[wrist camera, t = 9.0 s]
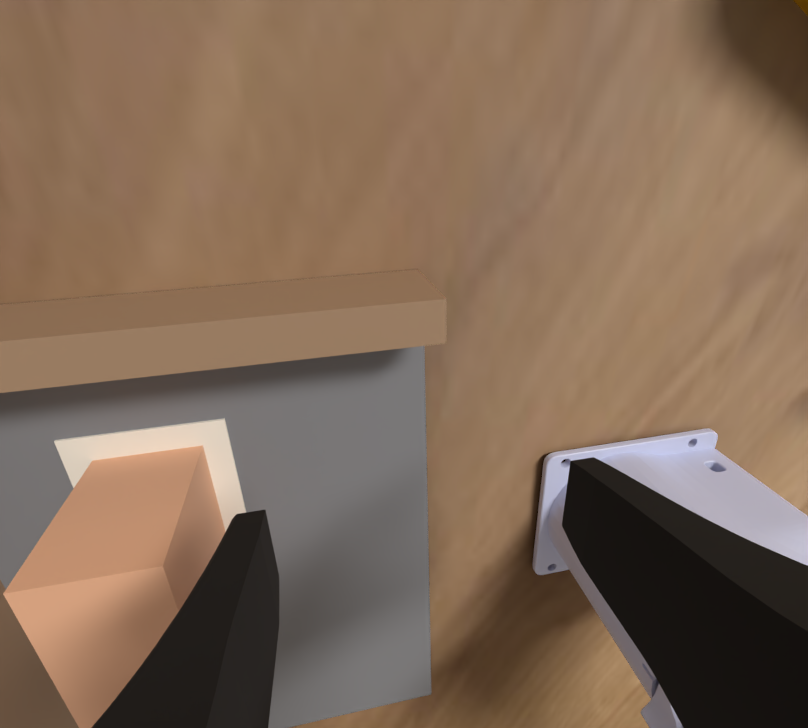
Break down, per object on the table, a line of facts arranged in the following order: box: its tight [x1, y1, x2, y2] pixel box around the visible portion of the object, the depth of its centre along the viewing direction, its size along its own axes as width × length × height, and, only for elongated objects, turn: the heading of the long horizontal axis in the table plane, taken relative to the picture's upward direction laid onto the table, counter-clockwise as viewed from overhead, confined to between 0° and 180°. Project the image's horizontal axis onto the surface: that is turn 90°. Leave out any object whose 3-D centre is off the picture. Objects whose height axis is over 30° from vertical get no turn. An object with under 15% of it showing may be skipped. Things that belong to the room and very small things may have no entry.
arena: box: [0, 269, 446, 728], centre depth 20 cm, size 20×26×4 cm
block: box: [3, 445, 225, 728], centre depth 17 cm, size 7×4×6 cm, turn 2°
